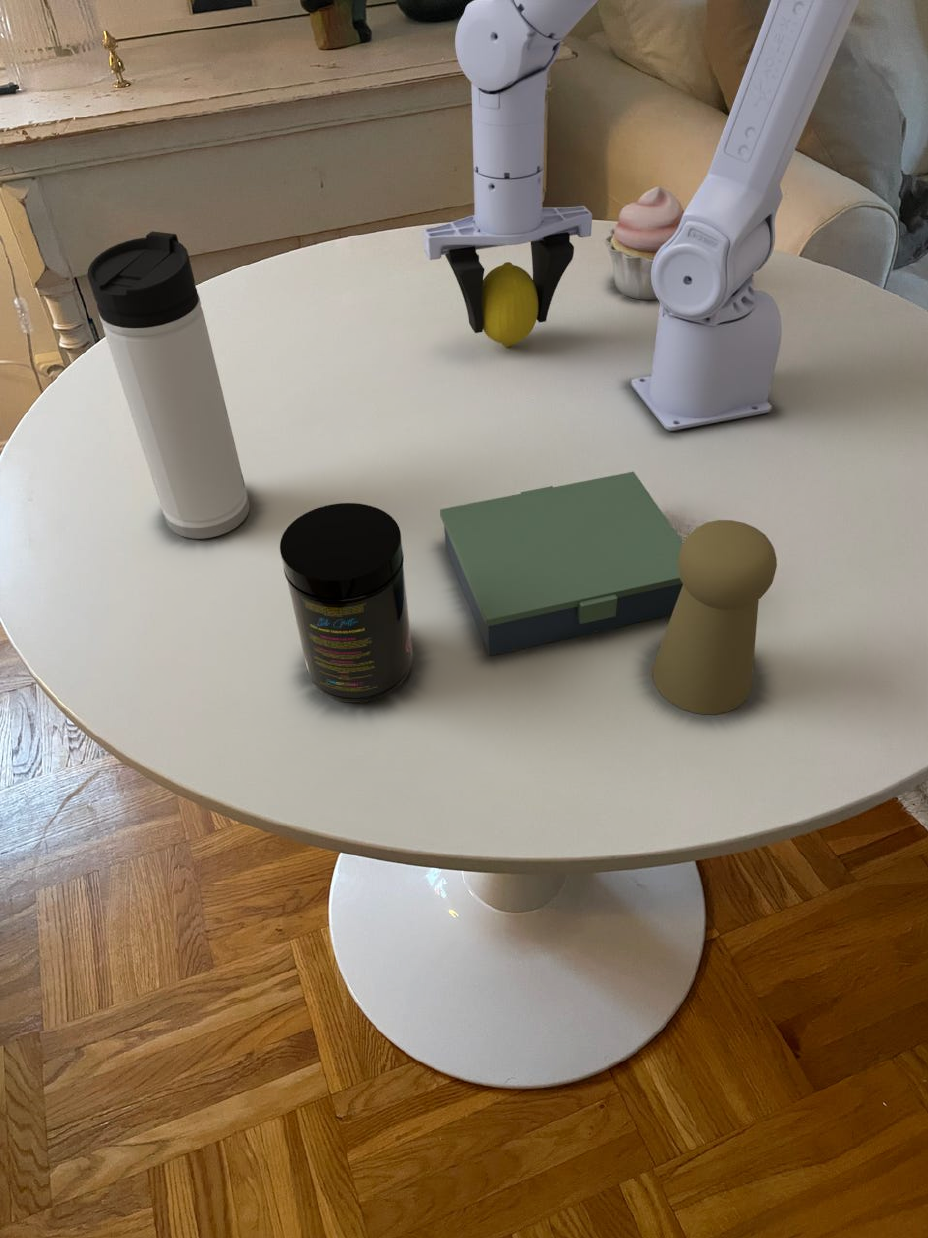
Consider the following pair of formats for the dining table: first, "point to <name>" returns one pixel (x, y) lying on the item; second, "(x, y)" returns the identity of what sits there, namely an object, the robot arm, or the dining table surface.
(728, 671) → the brown pawn
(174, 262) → the travel mug
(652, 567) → the lunchbox
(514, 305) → the lemon
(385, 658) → the supplement container
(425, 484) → the dining table surface
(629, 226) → the cupcake
